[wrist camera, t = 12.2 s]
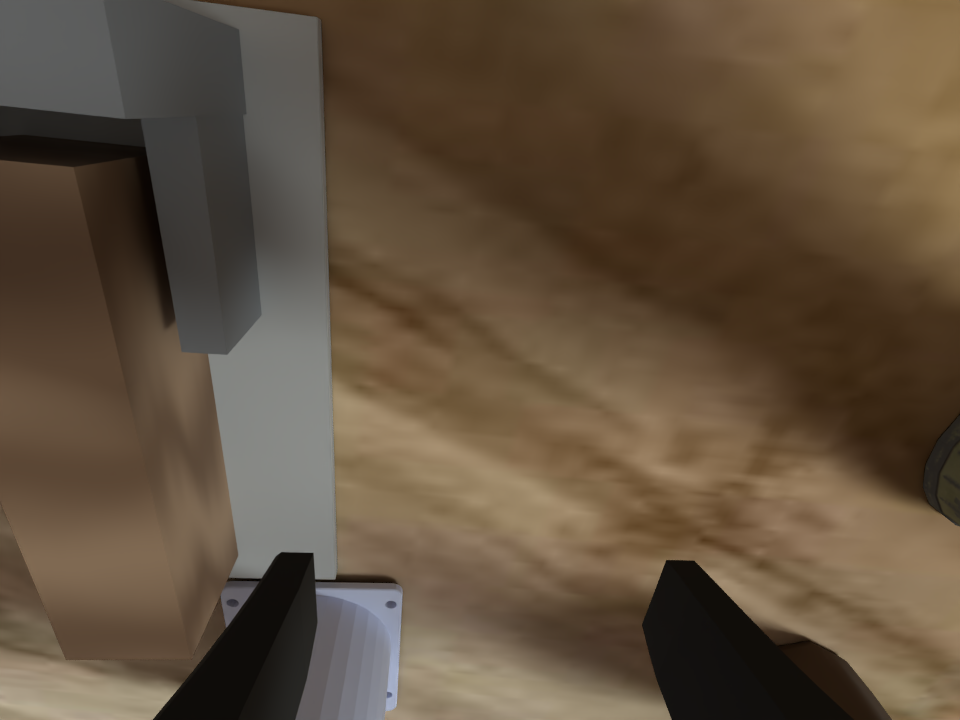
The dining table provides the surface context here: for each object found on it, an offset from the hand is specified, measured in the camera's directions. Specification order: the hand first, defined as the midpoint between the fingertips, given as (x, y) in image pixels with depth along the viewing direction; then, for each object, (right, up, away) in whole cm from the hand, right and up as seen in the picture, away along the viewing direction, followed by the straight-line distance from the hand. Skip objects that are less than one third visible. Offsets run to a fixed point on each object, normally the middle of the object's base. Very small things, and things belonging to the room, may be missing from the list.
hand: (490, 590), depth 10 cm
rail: (-12, +4, +7) cm, 14 cm away
